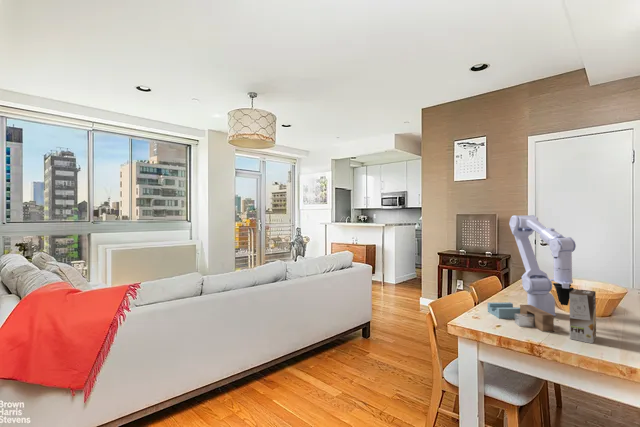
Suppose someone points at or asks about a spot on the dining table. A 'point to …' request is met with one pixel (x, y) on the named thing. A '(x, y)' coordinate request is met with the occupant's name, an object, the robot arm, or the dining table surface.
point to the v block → (503, 310)
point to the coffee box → (583, 315)
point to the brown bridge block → (539, 317)
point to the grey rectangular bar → (525, 320)
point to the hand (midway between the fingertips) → (563, 303)
